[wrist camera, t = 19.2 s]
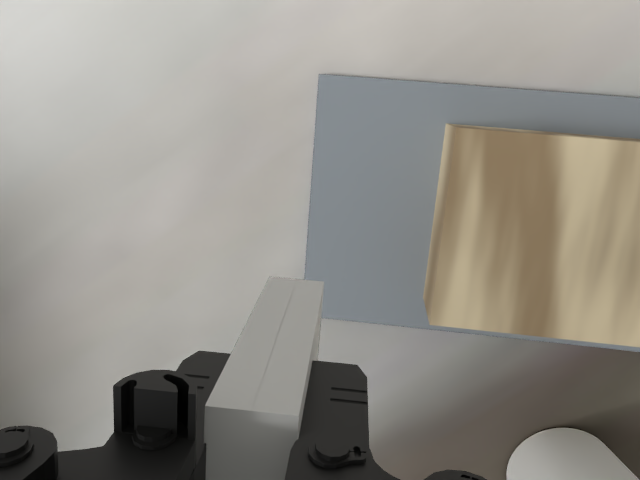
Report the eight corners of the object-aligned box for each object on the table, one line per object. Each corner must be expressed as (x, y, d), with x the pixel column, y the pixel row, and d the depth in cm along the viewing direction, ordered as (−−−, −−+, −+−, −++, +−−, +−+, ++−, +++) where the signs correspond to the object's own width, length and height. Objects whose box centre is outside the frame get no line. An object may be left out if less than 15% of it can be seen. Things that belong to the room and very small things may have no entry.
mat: (303, 312, 34) (301, 315, 33) (320, 74, 30) (319, 73, 30) (640, 347, 32) (645, 352, 32) (700, 102, 29) (707, 102, 28)
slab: (429, 324, 28) (672, 350, 28) (456, 127, 26) (724, 149, 25) (423, 297, 32) (635, 319, 31) (445, 123, 30) (678, 142, 29)
